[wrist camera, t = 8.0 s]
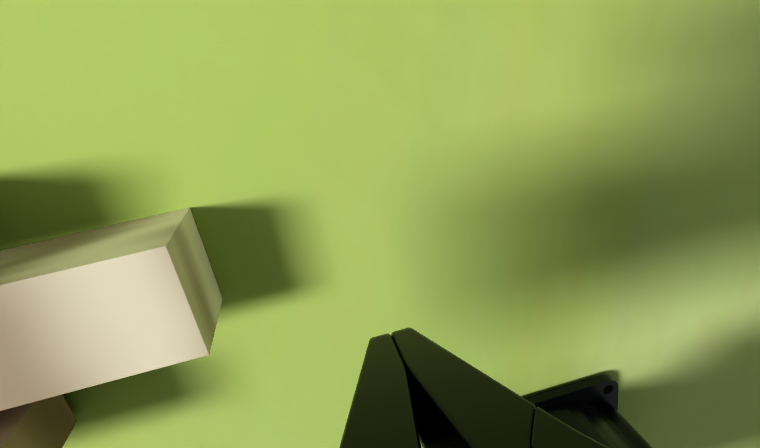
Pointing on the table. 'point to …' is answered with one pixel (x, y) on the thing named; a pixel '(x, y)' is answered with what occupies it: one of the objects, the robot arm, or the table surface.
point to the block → (104, 306)
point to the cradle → (37, 424)
